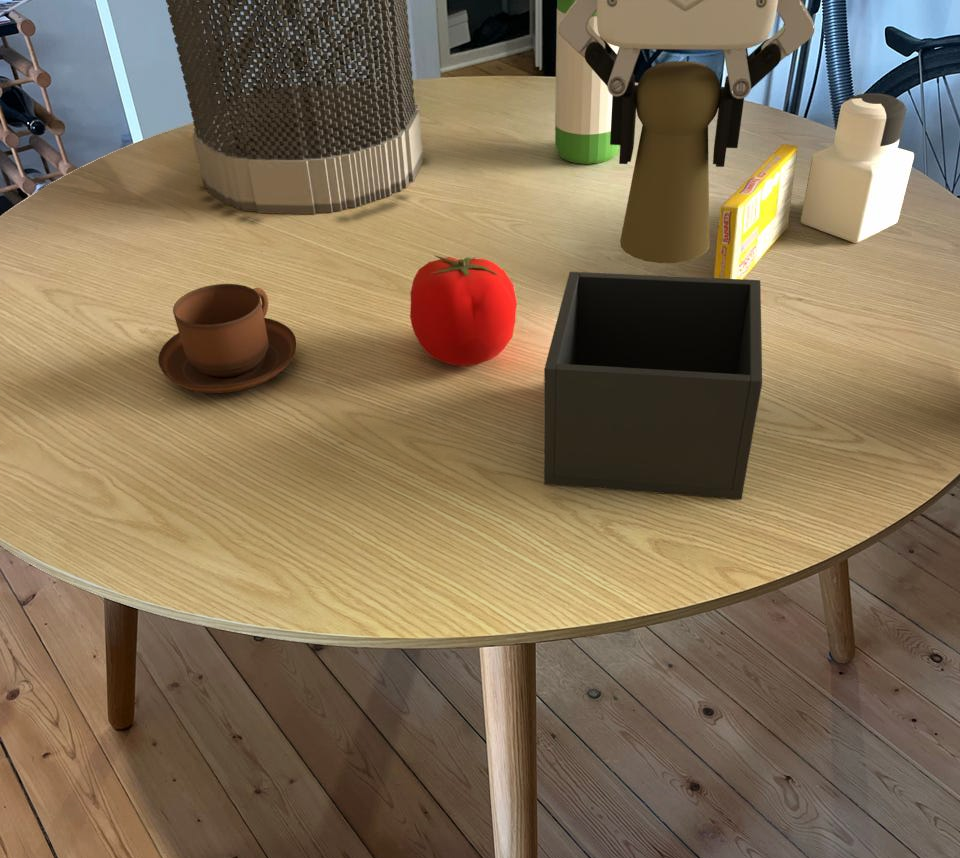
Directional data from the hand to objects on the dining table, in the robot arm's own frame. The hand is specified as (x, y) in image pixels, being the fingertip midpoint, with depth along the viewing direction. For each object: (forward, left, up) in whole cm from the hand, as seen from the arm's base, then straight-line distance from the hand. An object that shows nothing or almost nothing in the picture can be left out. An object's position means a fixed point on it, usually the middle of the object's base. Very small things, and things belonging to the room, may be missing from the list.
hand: (672, 154), depth 66 cm
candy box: (-8, -32, -22) cm, 39 cm away
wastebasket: (+43, -51, -22) cm, 70 cm away
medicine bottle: (-18, -41, -22) cm, 50 cm away
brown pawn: (0, 0, -6) cm, 6 cm away
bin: (0, 0, -21) cm, 21 cm away
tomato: (+17, -11, -22) cm, 30 cm away
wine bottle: (+11, -58, -22) cm, 63 cm away
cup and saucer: (+37, -6, -22) cm, 43 cm away
